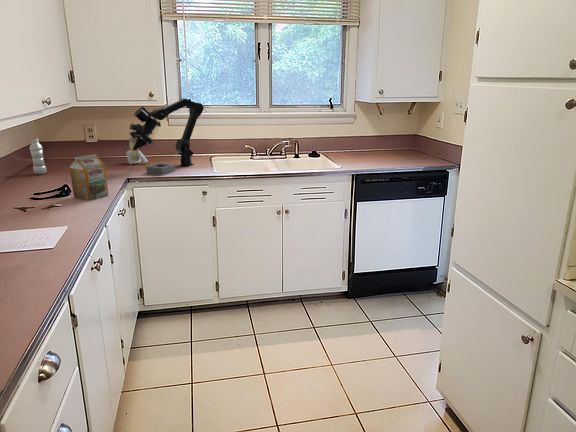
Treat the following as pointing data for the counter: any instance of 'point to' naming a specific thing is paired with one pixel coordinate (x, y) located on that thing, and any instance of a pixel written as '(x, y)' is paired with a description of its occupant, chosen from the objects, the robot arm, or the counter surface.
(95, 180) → the milk carton
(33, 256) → the counter surface
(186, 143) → the robot arm
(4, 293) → the counter surface
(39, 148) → the plastic bottle
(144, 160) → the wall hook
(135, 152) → the birch peg
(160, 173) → the frame
